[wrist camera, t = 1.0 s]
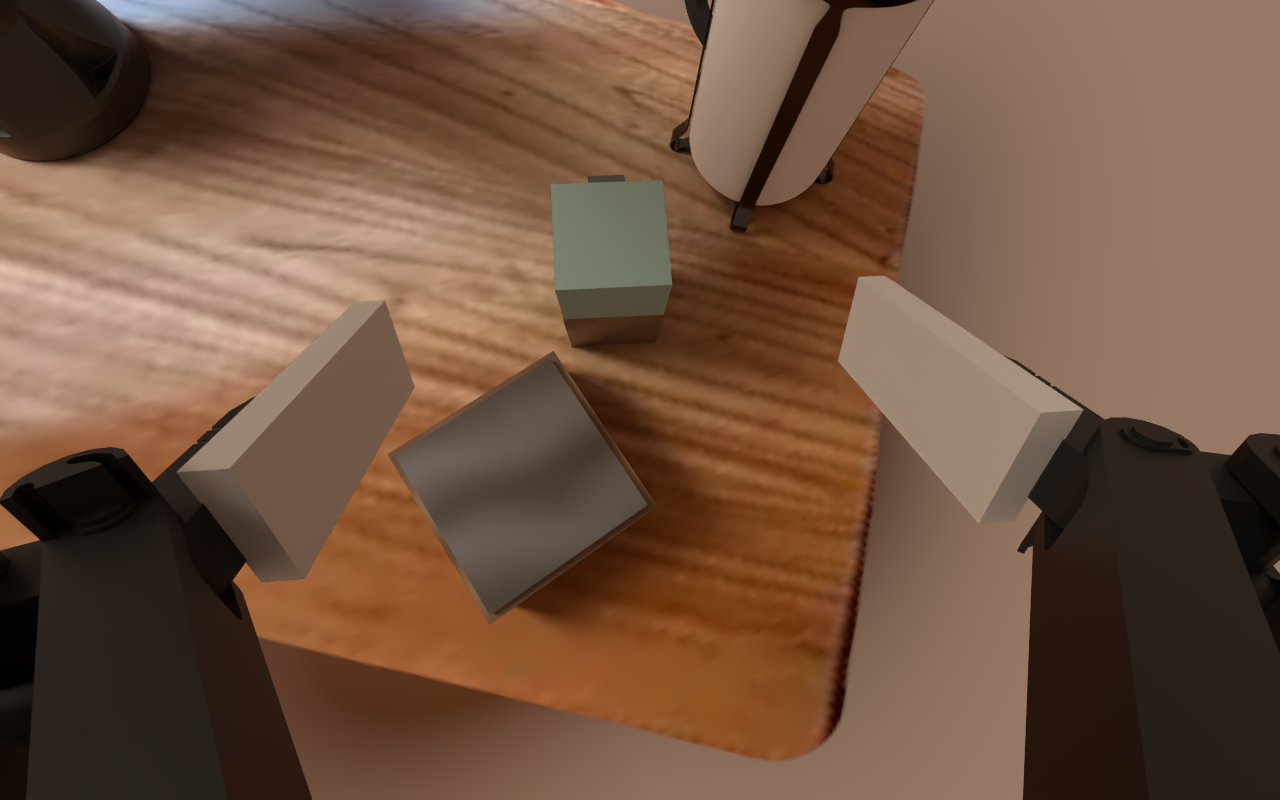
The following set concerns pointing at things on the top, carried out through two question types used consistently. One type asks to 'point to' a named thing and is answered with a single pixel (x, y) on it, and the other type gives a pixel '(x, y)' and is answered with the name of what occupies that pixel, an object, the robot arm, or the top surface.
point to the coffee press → (784, 89)
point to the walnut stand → (521, 485)
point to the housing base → (613, 330)
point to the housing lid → (610, 248)
